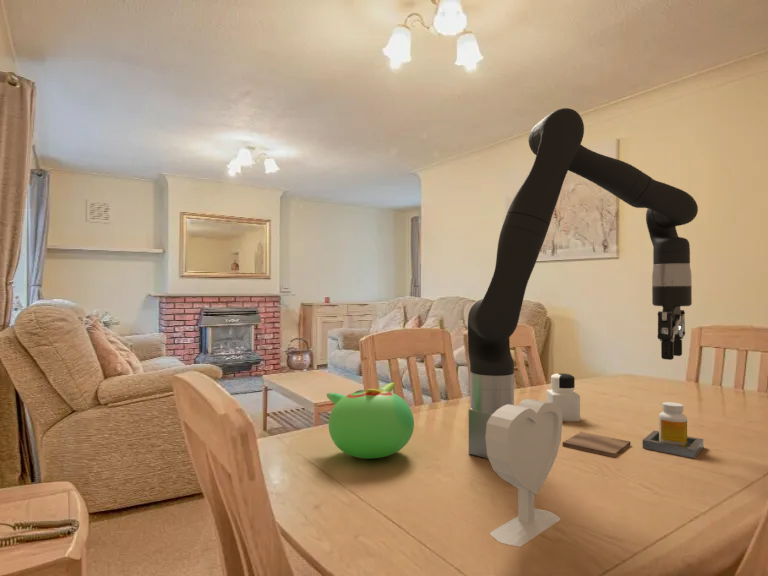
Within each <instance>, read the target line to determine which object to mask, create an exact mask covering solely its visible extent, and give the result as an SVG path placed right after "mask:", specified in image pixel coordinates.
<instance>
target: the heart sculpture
mask: <svg viewBox="0 0 768 576" xmlns="http://www.w3.org/2000/svg"><path fill="white" fill-rule="evenodd" d="M562 430H563V421H562V412H561V409H560V407H559V406H558V405H556V404H554V403H549V402H547V401H543V400H538V399H533V398H526V399H525V398H524V399H522V400H521V401H520V402H519V403H518V405H515V404H514V405H510V404H507V405H504V406H502V407H501V408H499V409H498V410H496V411H495V412H494V413H493V414H492V415H491V416H490V418H489V420H488V422H487V426H486V437H485V438H486V448H487V456H488V460H489V463H490V465H491V468H492V470H493V471H494V473H496V475H498V477H500V478H501V479H502V480H503V481H505V482H507V483H509V484H511V486H512V487H515V488H516V489H517V512H518V513H517V516H515V517H514V518H512V519H510V520H508V521H507V522H505V523H503V524H502V525H500V526H499V527H497V528H494V530H492V531H490V532H489V534H490V535H491V537H492V538H494V540H496V541H498V542H499V543H502V544H504V545H509V546H514V547H523V545H525V544H527V543H528V542H530V541H531V540H532V539H534V538H535V537H537V536H538V535H540V534H541V533H543V532H544V531H546V530H547V529H549V528H551V527H552V526H553V525H554V524H556V523H557V522H559V521H560V520H561V518H560V517H559V515H557V514H555V513H553V512H551V511H549V510H546V509H540V508H535V495H536V496H537V495H538V493H539V492H540V490H541V488H542V485H544V483H545V481H546V479H547V478H548V475H549V474H550V472H551V470H552V467H553V466H554V464H555V461H556V459H557V455H558V454H559V453H558V452H559V448H560V445H561V440H562V432H563V431H562Z"/></svg>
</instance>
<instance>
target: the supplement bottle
mask: <svg viewBox="0 0 768 576" xmlns="http://www.w3.org/2000/svg"><path fill="white" fill-rule="evenodd" d="M661 405H662V407H661V408H662V410H663V411H662V412H660V413H659V415H658V431H659V440H658V441H659V442H664V443H669V444H675V445H680V446H685V447H688V446H687V436H688V418H687V416H686V415H685V414H684V413H683V412H684V405H683V404H682V403H680V402H679V403H678V402H674V401H673V402H672V401H664V402H662V404H661Z"/></svg>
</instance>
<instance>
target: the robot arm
mask: <svg viewBox="0 0 768 576" xmlns="http://www.w3.org/2000/svg"><path fill="white" fill-rule="evenodd" d="M584 134H585V125H584V121H583V118H582V116H581V115H580V113H578V112H577V111H576V109H575V110H574V109H572V108H567V107H563V108H559V109H556V110H554V111H551V112H550V113H549V114H547V115H546V116H545V117H543V118H542V119H541V120H540V121H538V122H537V123H535V125H534V126H533V127H532V128H531V130H530V131H529V135H528V146H529V148H530V150H531V152H532V154H534V155H535V157H534V158H535V159H534V162H533V165H532V167H531V169H530V171H529V173H528V175H527V176H526V178H525V180H524V181H523V182H522V185H521V186H520V188H519V189H518V191H517V192H516V194H515V196H514V198H513V199H512V201H511V203H510V205H509V208H508V210H507V212H506V215H505V218H504V220H503V224H502V227H501V230H500V232H499V237H498V241H497V249H496V258H495V259H496V260H495V266H494V271H493V275H492V277H491V280H490V283H489V285H488V288H487V290H486V292H485V294H484V297H483V298H482V299H479V300H478V301H475V302H474V304H473V305H472V306H471V308H470V309H469V310H468V311H469V312H468V316H467V346H468V347H467V350H468V351H467V353H468V354H467V355H468V360H469V370H470V371H469V372H470V373H469V374H470V375H469V377H470V379H469V380H470V383H469V384H470V386H469V387H470V389H469V393H470V395H469V397H470V398H469V400H470V401H469V402H470V403H469V404H470V405H469V406H470V407H469V409H468V454H470V455H473V456H477V457H480V458H484V459H488V456H487V448H486V438H485V437H486V426H487V422H488V420H489V418H490V416H491V415H492V414H493V413H494V412H495V411H496V410H498V409H499V408H501V407H502V406H504V405H507V404H510V405H515V364H514V359H513V357H512V352H511V347H510V346H511V342H510V338H511V336H512V335H513V334H514V332H515V331H516V329H517V327H518V324H519V319H520V315H521V311H522V306H523V303H524V298H525V293H526V289H527V286H528V283H529V280H530V277H531V275H532V273H533V270H534V268H535V265H536V263H537V260H538V257H539V255H540V252H541V249H542V247H543V244H544V242H545V239H546V236H547V233H548V231H549V228H550V226H551V225H550V224H551V222H552V218H553V215H554V212H555V209H556V206H557V204H558V200H559V198H560V194H561V191H562V188H563V184H564V182H565V179H566V177H567V174H568V171H569V172H571V173H573V174H575V175H577V176H580V177H582V178H583V179H586V180H588V181H590V182H591V183H593V184H595V185H597V186H599V187H600V188H602V189H603V190H605V191H607V192H608V193H610V194H612V195H613V196H615V197H616V198H618V199H619V200H621V201H623V202H624V203H626V204H627V205H629V206H631V207H633V208H635V209H636V208H637V209H646V212H645V213H646V214H645V222H646V223H645V224H646V227H647V230H648V234H649V238H650V241H651V244H652V247H653V248H652V249H653V250H652V254H653V255H652V257H653V259H652V260H653V261H652V262H653V265H652V266H653V267H652V274H651V275H652V276H651V280H652V282H651V284H652V286H651V287H652V288H651V291H652V292H651V293H652V294H651V295H652V296H651V297H652V299H651V301H652V302H651V303H652V305H653V306H654V307H662V311H658V312H657V339H658V340H659V342H661V343H660V344H661V345H660V346H661V347H660V348H661V352H660V353H661V356H660V357H661V359H662V360H669V361H672V360H674V359H675V358H674V356H675V357H680V356H682V355H683V339H684V336H686V331H685V330H686V329H685V328H686V326H685V325H686V324H685V323H686V322H685V321H686V319H685V317H686V316H685V314H686V312H685V309H681V307H690V306H692V303H693V300H692V299H693V298H692V296H693V295H692V292H693V290H692V287H693V286H692V285H693V284H692V270H691V269H692V268H691V247H690V241H689V240H688V239H687V238H685V237H681V236H679V234H678V232H677V231H678V230H677V228H676V227H679V226H684V225H687V224H689V223H691V222H692V221H693V220H695V218H696V217H697V215H698V212H699V207H698V203H697V201H696V200H695V198H694V197H693V196H692V195H691V194H689V193H688V192H686V191H684V190H683V189H680V188H678V187H675V186H673V185H670V184H667V183H665V182H662V181H659V180H655V179H654V178H653V177H651V176H649V175H648V174H647V173H645V172H643V171H642V170H640V169H639V168H637V167H635V166H634V165H632V164H630V163H628V162H625V161H623V160H620V159H618V158H613V157H611V156H607V155H605V154H601V153H598V152H596V151H593V150H592V149H590V148H587V147H586V146H584V145H582V141H583V138H584ZM488 460H489V459H488Z"/></svg>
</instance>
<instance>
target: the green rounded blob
mask: <svg viewBox="0 0 768 576" xmlns="http://www.w3.org/2000/svg"><path fill="white" fill-rule="evenodd" d="M395 384H396V383H395V382H389V383H387V384H384V385H382V386H381V387H379V388H367V389H359V390H356V391H354V392H351V393H349V394H347V395H346V394H341V393H338V392H337V393H336V392H328V393H326V398H327V399H329V401H330V402H332V404H334V407H333V408H332V410H331V411H330V414H329V417H328V418H329V419H328V432H329V434H330V437H331V440H332V442H333V444H334V445H335V446H336V447H337V448H338V449H339V450H340V451H341V452H343V453H344V454H346V455H349V456H352V457H354V458H358V459H364V460H365V459H369V460H370V459H372V460H373V459H381V458H386V457H388V456H391V455H393V454H396V453H397V452H399V451H401V450H402V449H403V448H405V447H406V446H407V444H408V443H409V441H410V440H411V438H412V436H413V432H414V428H415V419H414V418H415V417H414V414H413V412H412V409H411V407H410V405H409V404H408V403H407V402H406V400H405V399H404V398H402V397H401V396H400V395H397V394H396V393H393V392H392V390H394V387H395Z"/></svg>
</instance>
